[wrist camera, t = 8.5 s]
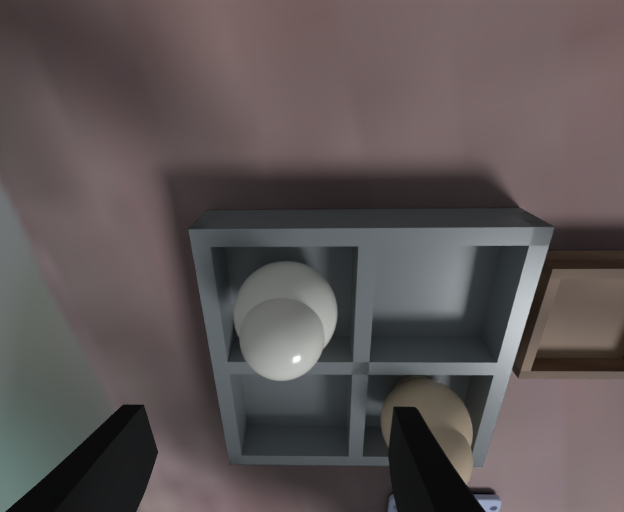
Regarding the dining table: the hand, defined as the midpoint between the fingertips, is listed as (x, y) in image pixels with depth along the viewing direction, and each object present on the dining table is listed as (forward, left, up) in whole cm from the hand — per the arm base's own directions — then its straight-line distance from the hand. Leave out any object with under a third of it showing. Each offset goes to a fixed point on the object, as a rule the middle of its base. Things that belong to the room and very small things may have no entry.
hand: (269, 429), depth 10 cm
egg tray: (-3, -3, -9) cm, 10 cm away
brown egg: (-7, -7, -8) cm, 13 cm away
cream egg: (0, 0, -8) cm, 8 cm away
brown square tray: (-1, -15, -9) cm, 17 cm away
